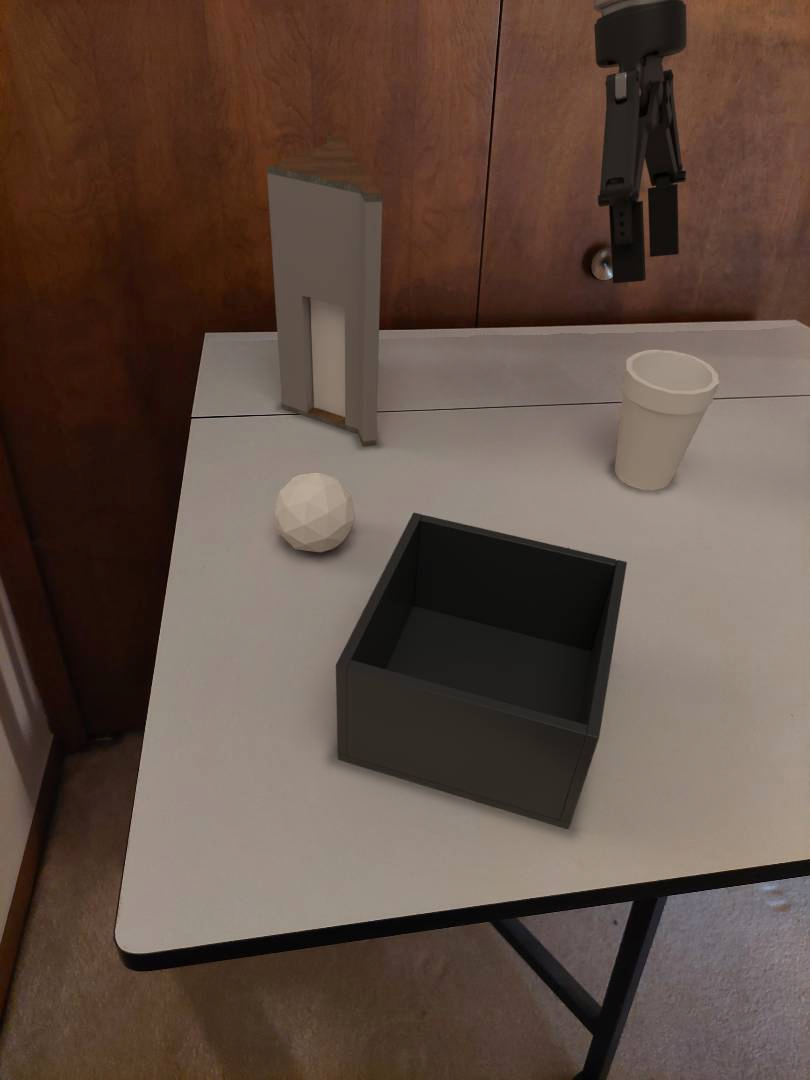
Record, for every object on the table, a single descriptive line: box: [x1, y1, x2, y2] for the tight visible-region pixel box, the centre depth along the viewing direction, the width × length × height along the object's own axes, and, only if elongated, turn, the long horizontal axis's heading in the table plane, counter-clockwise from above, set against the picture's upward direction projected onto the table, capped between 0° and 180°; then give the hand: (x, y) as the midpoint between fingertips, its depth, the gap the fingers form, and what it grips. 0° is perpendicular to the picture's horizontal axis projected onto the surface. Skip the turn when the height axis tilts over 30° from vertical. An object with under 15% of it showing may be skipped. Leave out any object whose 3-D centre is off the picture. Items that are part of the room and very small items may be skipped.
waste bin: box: [335, 512, 628, 830], centre depth 62 cm, size 18×18×11 cm
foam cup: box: [614, 349, 720, 491], centre depth 87 cm, size 10×9×13 cm
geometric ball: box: [273, 472, 356, 553], centre depth 77 cm, size 8×8×8 cm
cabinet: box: [266, 135, 383, 447], centre depth 91 cm, size 21×10×28 cm, turn 14°
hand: (648, 267), depth 77 cm, fingers open, 13 cm apart
